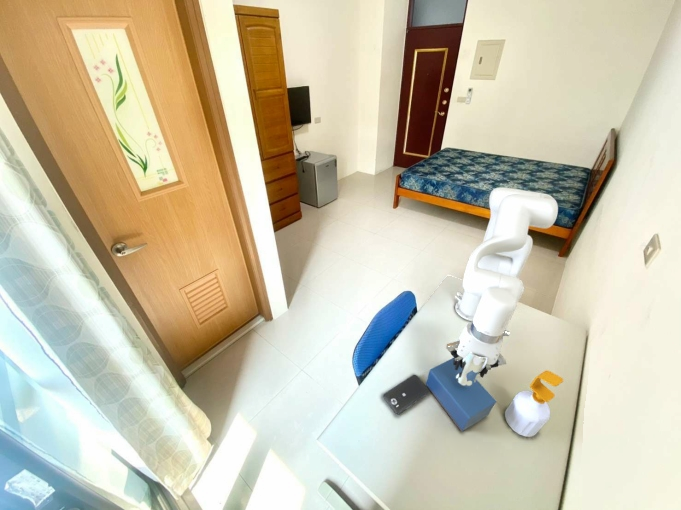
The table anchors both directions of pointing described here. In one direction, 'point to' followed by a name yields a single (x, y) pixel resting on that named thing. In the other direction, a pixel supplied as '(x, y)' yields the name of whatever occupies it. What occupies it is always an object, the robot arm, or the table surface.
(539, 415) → the soap bottle
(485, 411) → the blue rectangular box
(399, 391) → the smartphone
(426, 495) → the table surface
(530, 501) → the table surface
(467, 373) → the beer glass
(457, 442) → the table surface
